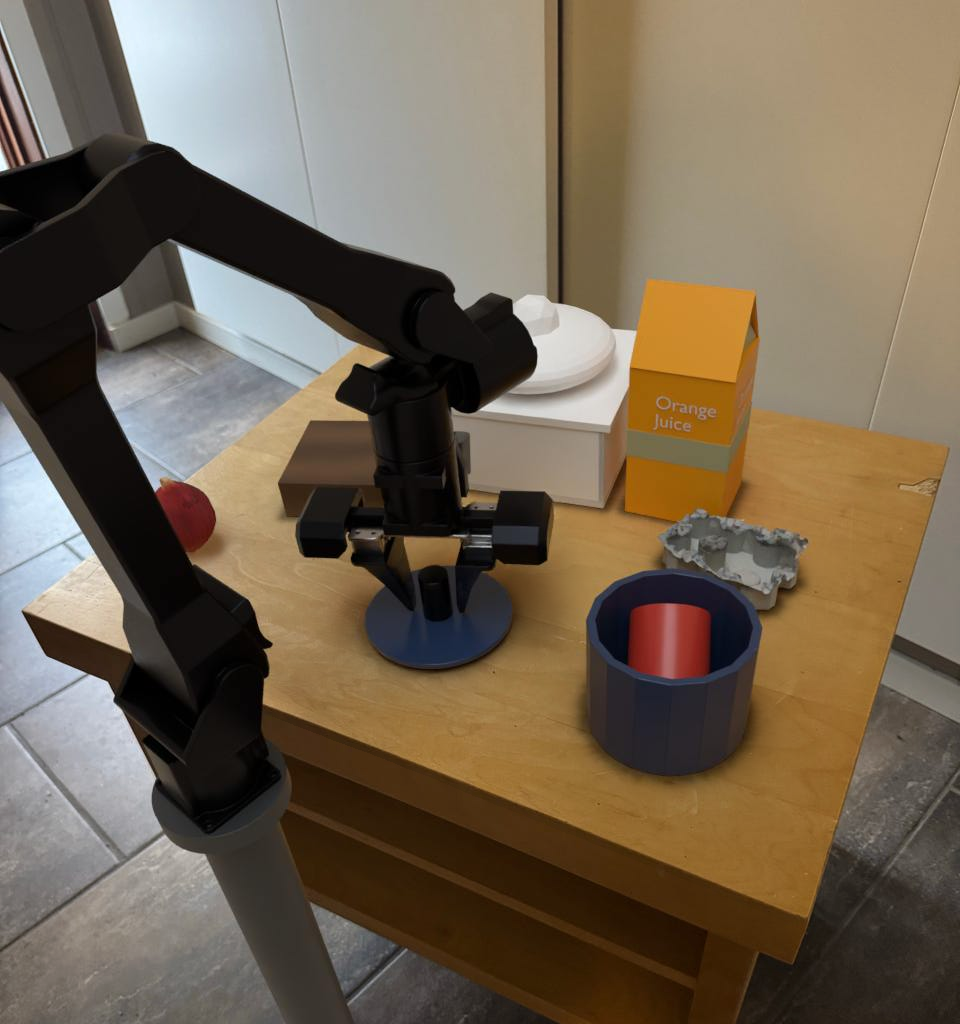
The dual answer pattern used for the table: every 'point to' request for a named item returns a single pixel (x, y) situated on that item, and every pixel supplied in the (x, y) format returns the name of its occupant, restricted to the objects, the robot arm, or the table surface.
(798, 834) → the table surface
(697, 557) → the egg carton
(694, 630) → the tomato can
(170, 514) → the onion
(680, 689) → the pot
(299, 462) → the block
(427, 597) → the lid
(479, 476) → the white box with dome
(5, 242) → the robot arm
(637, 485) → the orange juice
